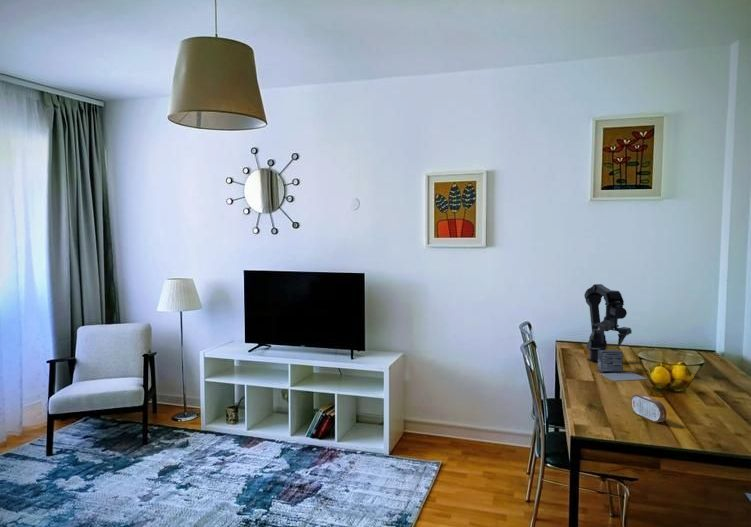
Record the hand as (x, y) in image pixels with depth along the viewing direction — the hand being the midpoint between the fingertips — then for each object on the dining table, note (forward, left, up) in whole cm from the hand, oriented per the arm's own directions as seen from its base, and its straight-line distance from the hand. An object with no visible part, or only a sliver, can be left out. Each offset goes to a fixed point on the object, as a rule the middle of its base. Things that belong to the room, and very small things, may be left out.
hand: (610, 344), depth 263 cm
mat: (+13, -2, -13) cm, 19 cm away
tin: (+65, -30, -13) cm, 73 cm away
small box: (+3, -2, -13) cm, 14 cm away
